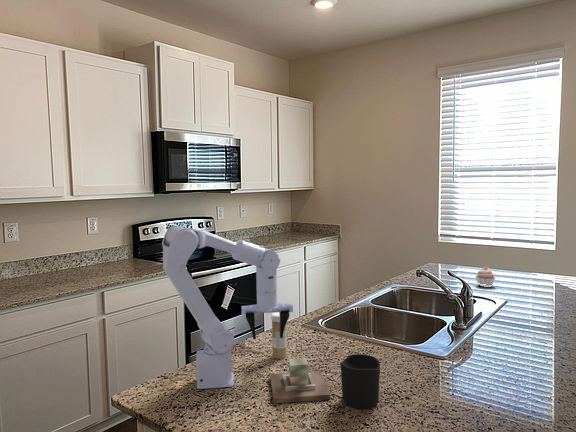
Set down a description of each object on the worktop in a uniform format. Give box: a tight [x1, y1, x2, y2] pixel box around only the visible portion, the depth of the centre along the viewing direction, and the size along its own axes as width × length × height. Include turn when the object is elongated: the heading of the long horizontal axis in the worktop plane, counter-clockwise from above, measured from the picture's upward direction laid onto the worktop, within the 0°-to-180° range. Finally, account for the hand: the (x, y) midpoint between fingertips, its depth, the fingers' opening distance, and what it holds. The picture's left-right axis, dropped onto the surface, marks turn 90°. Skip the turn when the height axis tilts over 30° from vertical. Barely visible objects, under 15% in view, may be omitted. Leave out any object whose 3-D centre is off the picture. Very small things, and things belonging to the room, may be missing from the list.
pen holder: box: [340, 353, 381, 410], centre depth 109 cm, size 9×9×10 cm
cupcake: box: [475, 266, 496, 286], centre depth 222 cm, size 9×9×10 cm
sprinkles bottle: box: [271, 312, 288, 360], centre depth 138 cm, size 5×5×14 cm
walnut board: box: [269, 370, 331, 404], centre depth 117 cm, size 14×14×2 cm
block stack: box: [288, 357, 309, 386], centre depth 117 cm, size 4×4×6 cm
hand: (267, 337), depth 128 cm, fingers open, 7 cm apart
